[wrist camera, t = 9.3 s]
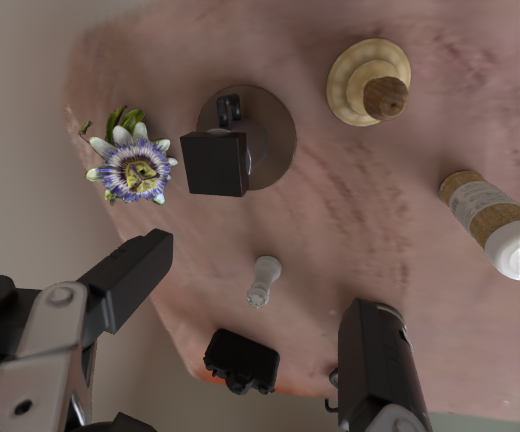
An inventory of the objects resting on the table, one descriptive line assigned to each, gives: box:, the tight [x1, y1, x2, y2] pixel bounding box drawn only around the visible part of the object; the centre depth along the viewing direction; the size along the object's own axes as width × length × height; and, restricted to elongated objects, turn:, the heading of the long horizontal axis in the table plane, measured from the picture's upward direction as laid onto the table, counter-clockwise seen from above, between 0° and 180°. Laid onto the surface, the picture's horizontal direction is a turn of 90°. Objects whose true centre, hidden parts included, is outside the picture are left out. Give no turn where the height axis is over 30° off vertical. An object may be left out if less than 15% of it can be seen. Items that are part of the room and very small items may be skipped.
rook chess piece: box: [247, 256, 282, 308], centre depth 39 cm, size 4×4×8 cm
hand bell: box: [326, 38, 411, 126], centre depth 21 cm, size 8×8×16 cm
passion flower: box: [78, 105, 178, 206], centre depth 35 cm, size 11×11×12 cm
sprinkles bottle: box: [439, 171, 520, 280], centre depth 24 cm, size 5×5×14 cm
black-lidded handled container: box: [180, 93, 268, 197], centre depth 28 cm, size 9×6×10 cm
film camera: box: [203, 329, 280, 395], centre depth 52 cm, size 15×10×9 cm, turn 73°
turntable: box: [197, 85, 297, 190], centre depth 33 cm, size 13×13×1 cm
